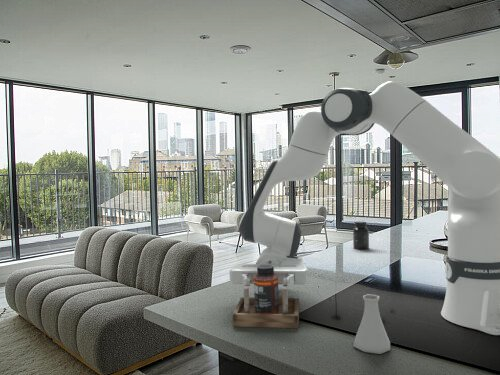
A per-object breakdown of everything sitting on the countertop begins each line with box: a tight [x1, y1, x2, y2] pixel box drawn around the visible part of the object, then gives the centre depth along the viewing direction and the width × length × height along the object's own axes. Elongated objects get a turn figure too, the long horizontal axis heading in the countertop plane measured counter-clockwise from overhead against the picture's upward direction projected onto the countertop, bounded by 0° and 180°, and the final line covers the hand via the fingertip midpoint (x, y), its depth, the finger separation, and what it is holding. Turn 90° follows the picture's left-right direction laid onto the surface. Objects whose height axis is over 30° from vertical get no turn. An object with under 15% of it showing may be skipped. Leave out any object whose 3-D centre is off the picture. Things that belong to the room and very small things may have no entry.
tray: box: [232, 287, 300, 329], centre depth 93 cm, size 15×12×8 cm
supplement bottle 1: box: [253, 264, 280, 314], centre depth 93 cm, size 6×6×11 cm
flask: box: [352, 293, 391, 355], centre depth 76 cm, size 7×7×10 cm
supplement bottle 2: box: [352, 221, 370, 251], centre depth 173 cm, size 7×7×12 cm
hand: (266, 282), depth 91 cm, fingers open, 8 cm apart
